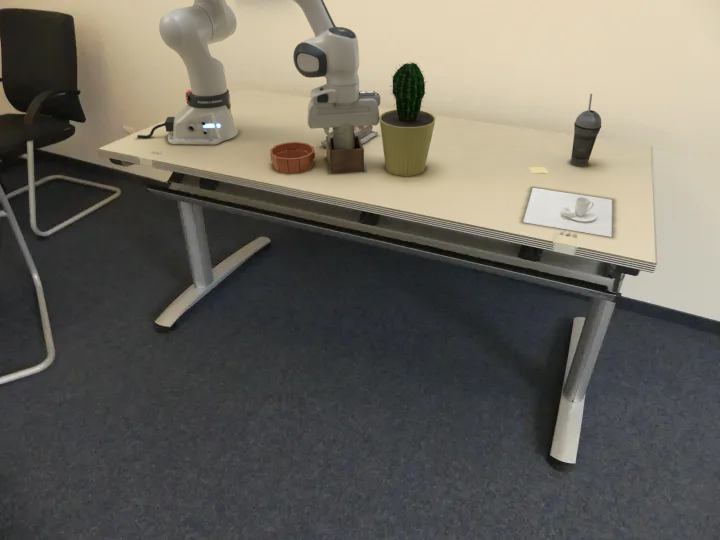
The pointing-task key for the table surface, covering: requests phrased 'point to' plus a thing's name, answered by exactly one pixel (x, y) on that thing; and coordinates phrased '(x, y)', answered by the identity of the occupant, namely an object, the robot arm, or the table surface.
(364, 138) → the packaged product
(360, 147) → the holder
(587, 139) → the beverage cup
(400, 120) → the potted cactus
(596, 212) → the teacup and saucer
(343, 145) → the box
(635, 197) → the table surface
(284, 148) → the bowl
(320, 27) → the robot arm
